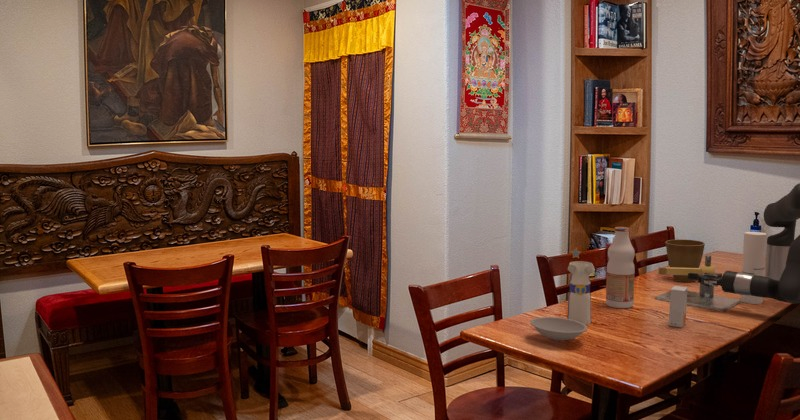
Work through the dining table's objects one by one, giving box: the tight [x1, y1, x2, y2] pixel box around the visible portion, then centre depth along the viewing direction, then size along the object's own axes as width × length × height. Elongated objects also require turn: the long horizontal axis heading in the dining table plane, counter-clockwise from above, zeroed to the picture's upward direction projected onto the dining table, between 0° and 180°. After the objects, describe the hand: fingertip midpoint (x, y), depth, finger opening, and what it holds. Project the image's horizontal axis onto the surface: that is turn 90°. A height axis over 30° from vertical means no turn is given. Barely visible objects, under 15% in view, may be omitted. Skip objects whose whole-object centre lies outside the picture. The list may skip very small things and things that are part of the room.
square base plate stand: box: [654, 254, 742, 312], centre depth 249 cm, size 17×24×16 cm
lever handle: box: [657, 264, 716, 276], centre depth 253 cm, size 19×5×4 cm, turn 81°
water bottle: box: [566, 248, 596, 326], centre depth 223 cm, size 8×9×25 cm
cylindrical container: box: [740, 231, 768, 305], centre depth 247 cm, size 7×7×25 cm
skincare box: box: [668, 285, 688, 328], centre depth 219 cm, size 6×4×12 cm
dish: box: [529, 316, 588, 342], centre depth 204 cm, size 18×14×5 cm
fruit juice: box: [605, 226, 636, 309], centre depth 243 cm, size 9×9×28 cm
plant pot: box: [665, 238, 706, 283], centre depth 282 cm, size 15×15×16 cm
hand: (688, 275), depth 246 cm, fingers closed
